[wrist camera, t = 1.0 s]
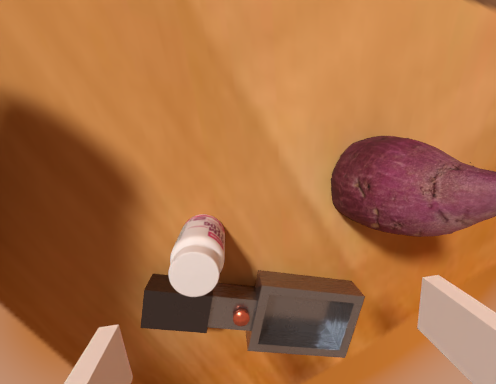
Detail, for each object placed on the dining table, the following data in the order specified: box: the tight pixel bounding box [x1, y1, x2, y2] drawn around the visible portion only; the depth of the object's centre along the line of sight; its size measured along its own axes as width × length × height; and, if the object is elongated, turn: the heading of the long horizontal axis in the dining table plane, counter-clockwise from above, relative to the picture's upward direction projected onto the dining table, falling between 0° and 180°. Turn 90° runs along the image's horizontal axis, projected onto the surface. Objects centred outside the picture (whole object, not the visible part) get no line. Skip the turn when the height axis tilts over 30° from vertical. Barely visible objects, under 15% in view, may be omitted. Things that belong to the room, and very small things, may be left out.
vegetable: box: [331, 136, 496, 237], centre depth 22 cm, size 10×10×15 cm
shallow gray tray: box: [141, 270, 365, 358], centre depth 28 cm, size 24×8×3 cm, turn 80°
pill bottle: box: [168, 214, 225, 297], centre depth 23 cm, size 5×5×8 cm
